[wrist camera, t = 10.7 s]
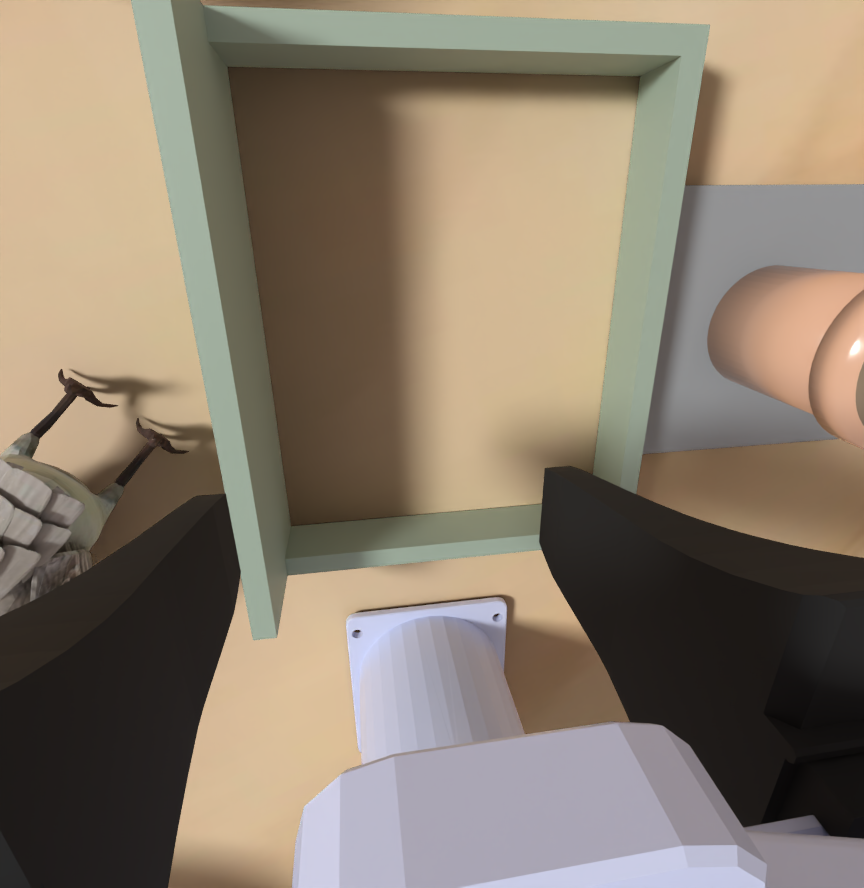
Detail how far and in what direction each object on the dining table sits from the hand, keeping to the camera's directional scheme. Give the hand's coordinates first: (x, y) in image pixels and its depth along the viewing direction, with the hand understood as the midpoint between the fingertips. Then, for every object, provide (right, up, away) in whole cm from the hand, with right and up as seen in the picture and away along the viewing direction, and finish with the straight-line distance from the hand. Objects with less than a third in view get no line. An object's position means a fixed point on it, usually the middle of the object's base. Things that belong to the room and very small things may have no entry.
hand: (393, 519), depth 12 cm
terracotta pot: (+15, +7, +10) cm, 19 cm away
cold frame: (+1, +6, +9) cm, 11 cm away
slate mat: (+15, +7, +11) cm, 20 cm away
